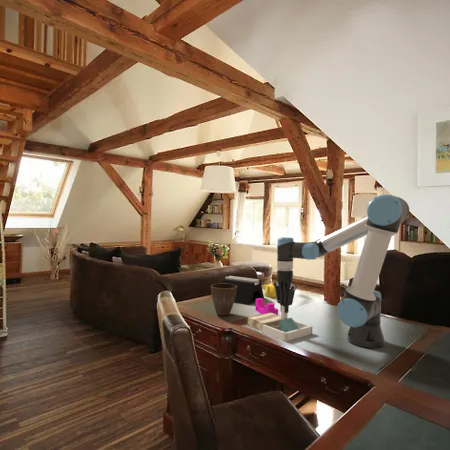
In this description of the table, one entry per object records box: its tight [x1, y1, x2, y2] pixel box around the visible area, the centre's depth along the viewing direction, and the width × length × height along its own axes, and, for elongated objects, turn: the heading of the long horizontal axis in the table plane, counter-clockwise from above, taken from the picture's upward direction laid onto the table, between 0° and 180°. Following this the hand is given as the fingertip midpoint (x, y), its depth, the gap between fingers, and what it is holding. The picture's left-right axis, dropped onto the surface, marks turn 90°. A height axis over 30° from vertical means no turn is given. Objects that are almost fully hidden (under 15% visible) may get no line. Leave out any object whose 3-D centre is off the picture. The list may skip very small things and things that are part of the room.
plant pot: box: [210, 282, 237, 317], centre depth 184 cm, size 15×15×16 cm
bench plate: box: [247, 313, 282, 332], centre depth 164 cm, size 12×16×4 cm
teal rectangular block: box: [279, 317, 299, 332], centre depth 153 cm, size 7×7×3 cm
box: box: [261, 319, 313, 343], centre depth 154 cm, size 15×18×4 cm
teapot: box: [262, 282, 277, 299], centre depth 225 cm, size 14×13×10 cm
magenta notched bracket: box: [255, 298, 279, 315], centre depth 186 cm, size 15×6×8 cm, turn 22°
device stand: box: [221, 275, 265, 306], centre depth 218 cm, size 22×22×15 cm
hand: (284, 319), depth 155 cm, fingers closed
